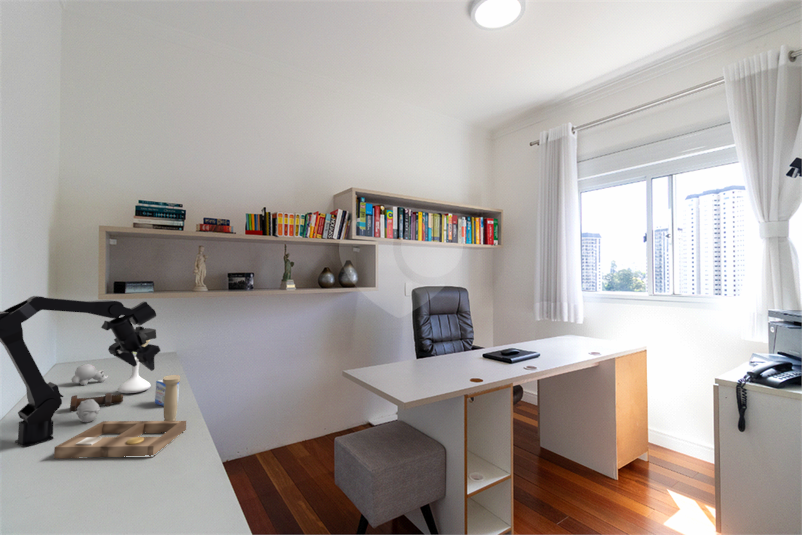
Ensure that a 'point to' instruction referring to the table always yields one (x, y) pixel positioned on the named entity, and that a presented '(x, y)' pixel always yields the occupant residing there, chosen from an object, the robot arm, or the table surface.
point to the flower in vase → (135, 380)
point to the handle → (170, 397)
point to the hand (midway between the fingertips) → (144, 367)
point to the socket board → (120, 439)
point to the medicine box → (162, 392)
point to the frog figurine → (88, 410)
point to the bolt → (97, 400)
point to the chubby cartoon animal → (87, 374)
